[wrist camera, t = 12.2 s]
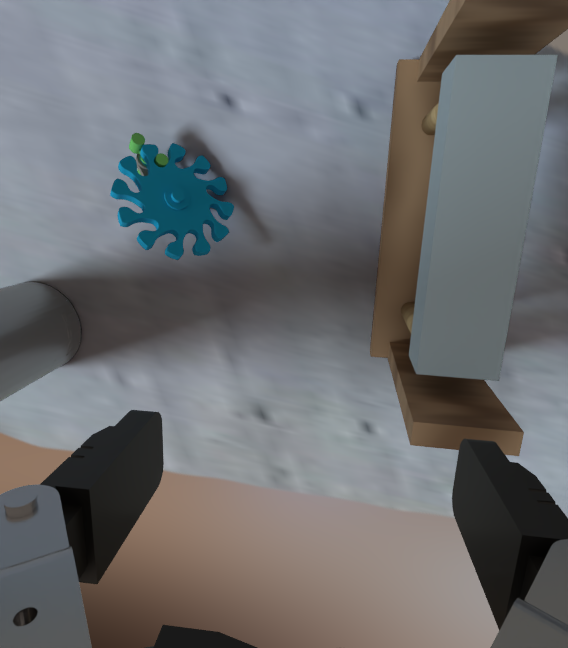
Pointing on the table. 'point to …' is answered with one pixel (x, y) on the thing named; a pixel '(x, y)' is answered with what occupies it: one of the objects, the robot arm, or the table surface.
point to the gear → (170, 197)
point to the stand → (410, 208)
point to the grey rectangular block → (478, 210)
